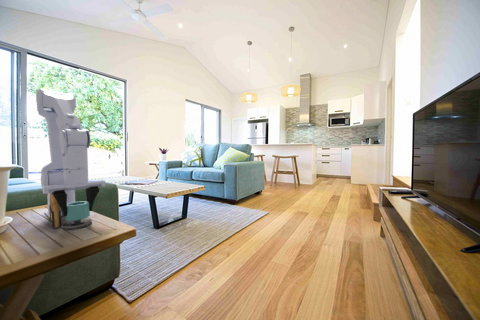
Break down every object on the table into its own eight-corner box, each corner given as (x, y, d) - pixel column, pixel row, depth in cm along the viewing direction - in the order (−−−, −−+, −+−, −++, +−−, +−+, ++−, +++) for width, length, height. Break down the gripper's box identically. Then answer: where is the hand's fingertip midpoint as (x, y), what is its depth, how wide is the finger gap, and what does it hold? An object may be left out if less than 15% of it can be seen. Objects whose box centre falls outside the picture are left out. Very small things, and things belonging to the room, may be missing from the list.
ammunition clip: (61, 227, 59) (60, 187, 58) (52, 228, 57) (51, 188, 57) (57, 218, 66) (56, 183, 65) (49, 219, 64) (48, 183, 64)
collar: (63, 218, 59) (63, 203, 59) (85, 213, 64) (85, 200, 64) (68, 222, 56) (68, 206, 56) (91, 217, 61) (91, 203, 60)
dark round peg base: (59, 225, 60) (58, 206, 59) (87, 219, 65) (87, 201, 65) (65, 231, 55) (65, 211, 55) (95, 224, 61) (94, 205, 61)
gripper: (45, 171, 51) (47, 222, 52) (108, 168, 63) (109, 209, 63) (40, 170, 55) (42, 217, 56) (100, 166, 67) (101, 206, 68)
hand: (77, 213), depth 60 cm, fingers closed on collar, 5 cm apart
